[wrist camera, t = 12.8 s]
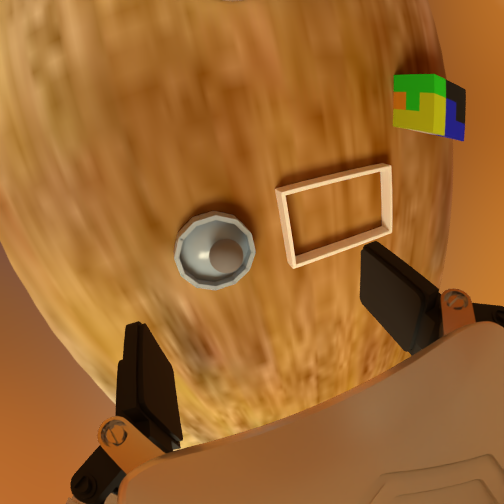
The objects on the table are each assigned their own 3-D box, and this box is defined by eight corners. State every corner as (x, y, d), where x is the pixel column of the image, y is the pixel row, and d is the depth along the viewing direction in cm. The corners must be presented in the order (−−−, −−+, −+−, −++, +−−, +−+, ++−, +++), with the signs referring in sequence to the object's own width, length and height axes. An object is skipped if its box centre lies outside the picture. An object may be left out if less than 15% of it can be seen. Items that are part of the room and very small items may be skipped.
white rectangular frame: (274, 188, 43) (281, 192, 41) (382, 162, 46) (391, 165, 44) (287, 262, 49) (293, 268, 47) (384, 228, 52) (391, 232, 50)
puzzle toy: (425, 133, 46) (463, 141, 37) (392, 126, 44) (433, 132, 35) (427, 87, 42) (465, 89, 33) (393, 75, 39) (434, 73, 31)
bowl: (164, 226, 41) (164, 231, 39) (241, 201, 42) (245, 205, 40) (188, 291, 46) (189, 298, 44) (257, 269, 48) (261, 275, 46)
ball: (198, 245, 41) (221, 253, 37) (222, 230, 44) (246, 236, 40) (207, 274, 43) (230, 284, 40) (230, 257, 46) (253, 265, 43)
